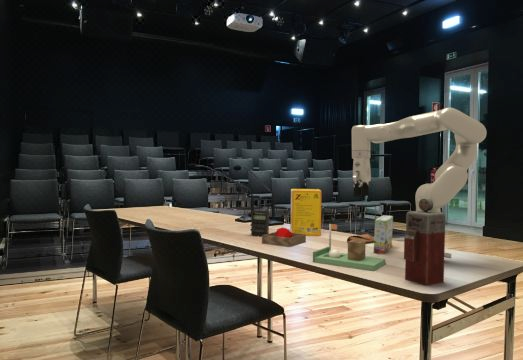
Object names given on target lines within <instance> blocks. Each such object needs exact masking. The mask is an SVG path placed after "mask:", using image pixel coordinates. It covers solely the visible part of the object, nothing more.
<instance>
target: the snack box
mask: <svg viewBox="0 0 523 360" xmlns="http://www.w3.org/2000/svg"><path fill="white" fill-rule="evenodd" d="M393 223H394V216H393V215H386V214H385V215H383V214H382V215H381V216H379V217H378V218H376V219H375V220H374V236H373V237H374V243H373V253H374V254H382V255H385V254H386V253H387V251H389V250H390V249H391V248H392V247H393Z"/></svg>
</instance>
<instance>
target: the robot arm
mask: <svg viewBox="0 0 523 360" xmlns="http://www.w3.org/2000/svg"><path fill="white" fill-rule="evenodd" d="M447 130H448V131H449V132H452V133H453V134H454V141H455V149H454V151H453V152H452V153H451V155H450V156H449V157H448V158H447V159H446V160H445V161H444V163H443V164H442V165H440V167H438V169H437V170H436V171H435V174H434V179H435V181H433V183H425V184H422V185H420V186H419V187H418V188H417V190H416V192H415V200H414V201H415V211H422V210H421V209H420V208H419V201H420V200H421V199H424V198H429V199H431V200H432V202H433V208H432V209H431V210H430V211H432V212H441V208H444V207H446V206H447V205H448V203H450V201H451V200H453V198H454V197H455V196H456V195H457V194H458V193H460V191H461V190H462V188H463V187H464V186H465V185H466V183H467V181H468V177H469V175H468V169H469V168H471V166H472V165H473V163H474V161H475V160H476V159H477V155H478V144H480V143H482V142H483V141H484V140H485V139H486V137H487V133H488V132H487V129H486V127H485V124H483V123H481V122H480V121H479V120H476V119H475V118H472V117H471V116H469V115H467V114H465V113H464V112H462V111H460V110H459V109H456V108H454V107H444V108H442V109H439V110H435V111H429V112H425V113H421V114H416V115H412V116H408V117H405V118H402V119H400V120H398V121H393V122H389V123H384V124H383V123H377V124H370V125H366V124H363V125H362V124H358V125H353V126H352V128H351V159H353V161H352V162H353V164H352V180H353V197H355V198H362V197H363V196H369V195H370V183H369V182H371V181H372V174H371V173H372V171H371V163H370V162H371V161H370V159H371V143H374V144H381V143H385V142H390V141H395V140H400V139H408V138H414V137H419V136H423V135H428V134H432V133H433V134H435V133H438V132H442V131H443V132H444V131H447ZM441 213H442V212H441ZM445 258H446V259H452V253H449V252H444V259H445Z"/></svg>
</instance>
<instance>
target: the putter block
mask: <svg viewBox="0 0 523 360" xmlns="http://www.w3.org/2000/svg"><path fill="white" fill-rule="evenodd" d="M365 243H366V241H362V240H351V241H348V243H347V254H348V260H355V261H361V260H363V259H365V256H366V244H365Z"/></svg>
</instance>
